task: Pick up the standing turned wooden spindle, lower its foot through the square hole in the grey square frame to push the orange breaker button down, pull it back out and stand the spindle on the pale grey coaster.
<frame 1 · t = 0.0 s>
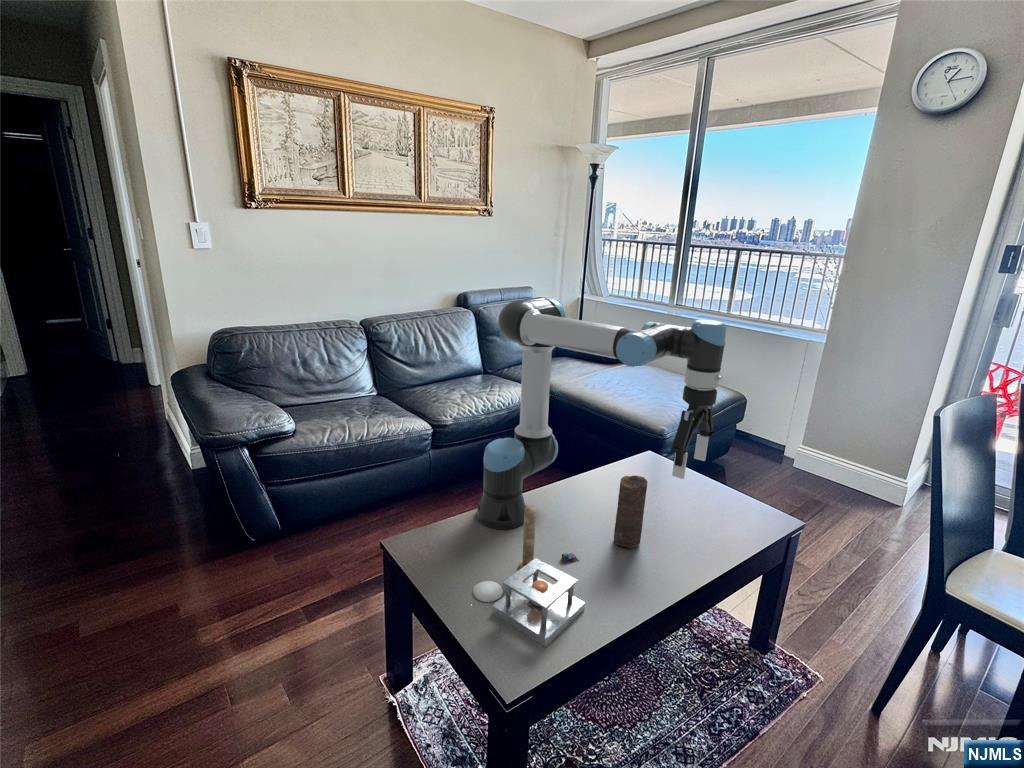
hand: (689, 467, 129), 28 cm above the table, fingers open, 13 cm apart
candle: (626, 544, 146), on the table
grey square frame: (538, 611, 119), on the table
puzzle cube: (568, 561, 138), on the table
breaker button: (539, 592, 117), point 5 cm above the table, slide at 0.0 cm
coaster: (488, 592, 124), on the table
turned wooden spindle: (527, 566, 134), on the table
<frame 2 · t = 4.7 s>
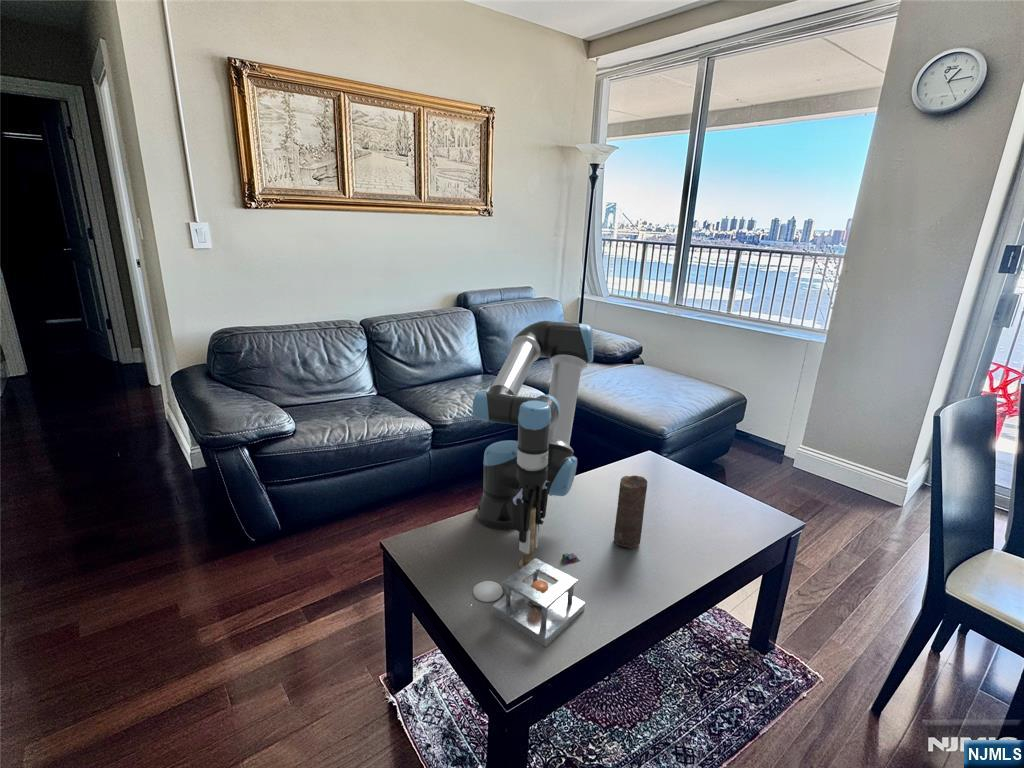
hand: (528, 548, 133), 6 cm above the table, fingers closed on turned wooden spindle, 3 cm apart
turned wooden spindle: (527, 566, 134), on the table, touching gripper
everything else where it was.
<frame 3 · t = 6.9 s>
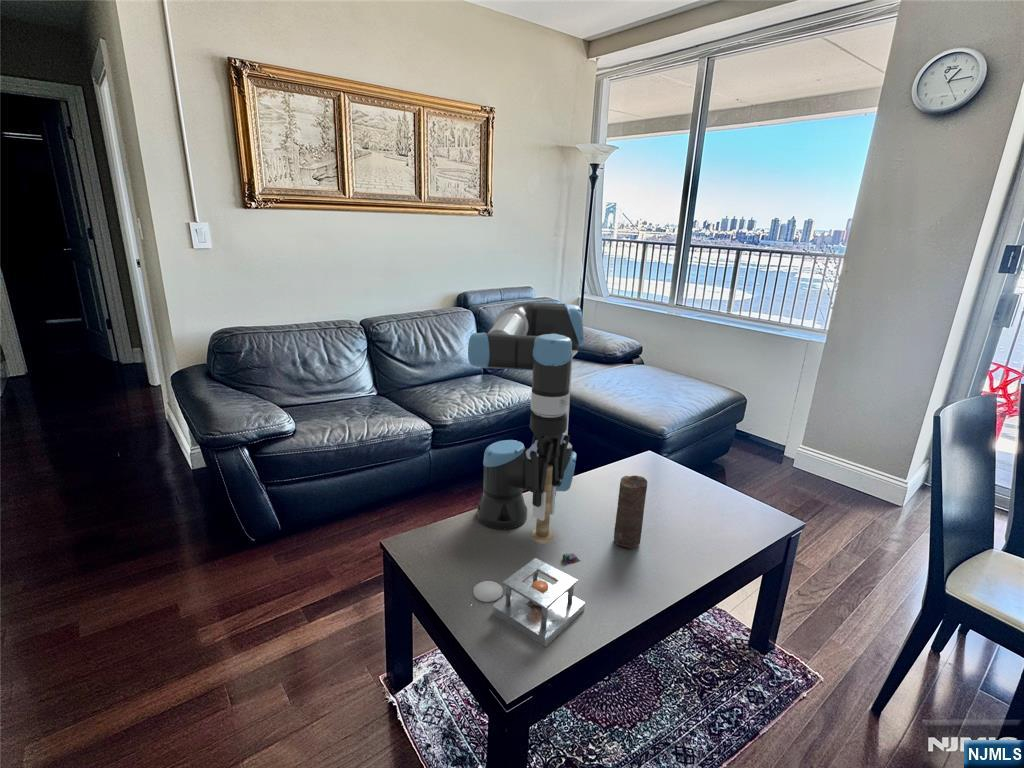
hand: (543, 514, 112), 25 cm above the table, fingers closed on turned wooden spindle, 3 cm apart
turned wooden spindle: (542, 537, 113), point 19 cm above the table, touching gripper
everything else where it was.
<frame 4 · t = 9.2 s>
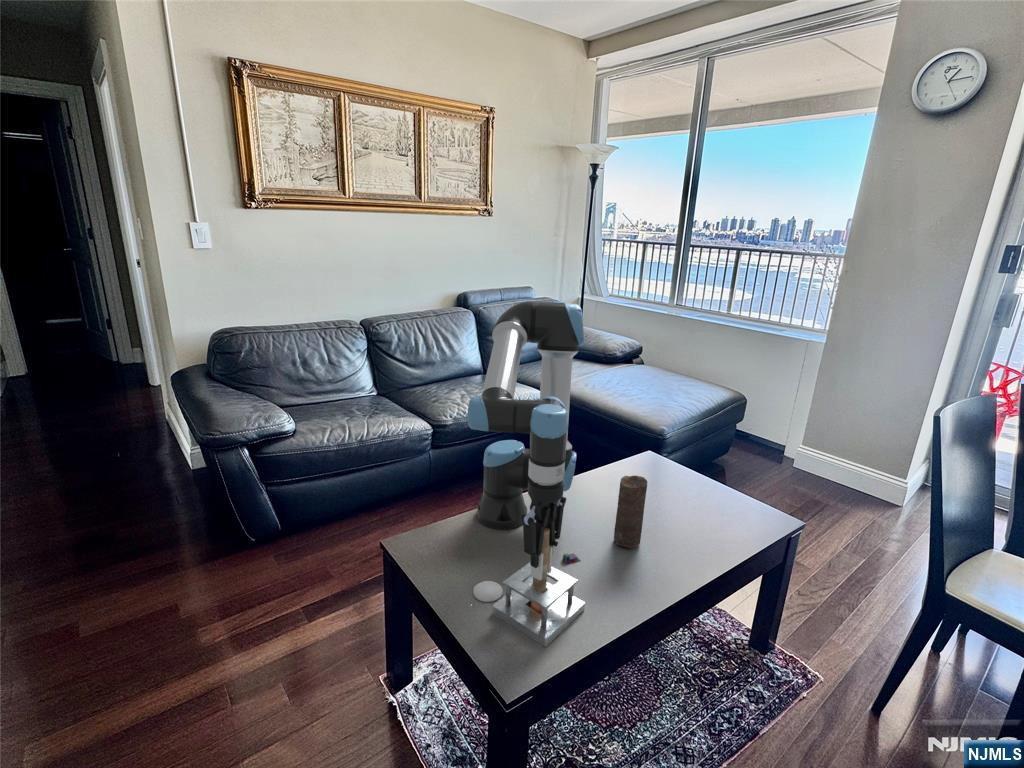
hand: (540, 573, 116), 10 cm above the table, fingers closed on turned wooden spindle, 3 cm apart
breaker button: (539, 602, 118), point 2 cm above the table, slide at 2.6 cm, touching turned wooden spindle
turned wooden spindle: (539, 595, 117), point 4 cm above the table, touching breaker button, gripper
everything else where it was.
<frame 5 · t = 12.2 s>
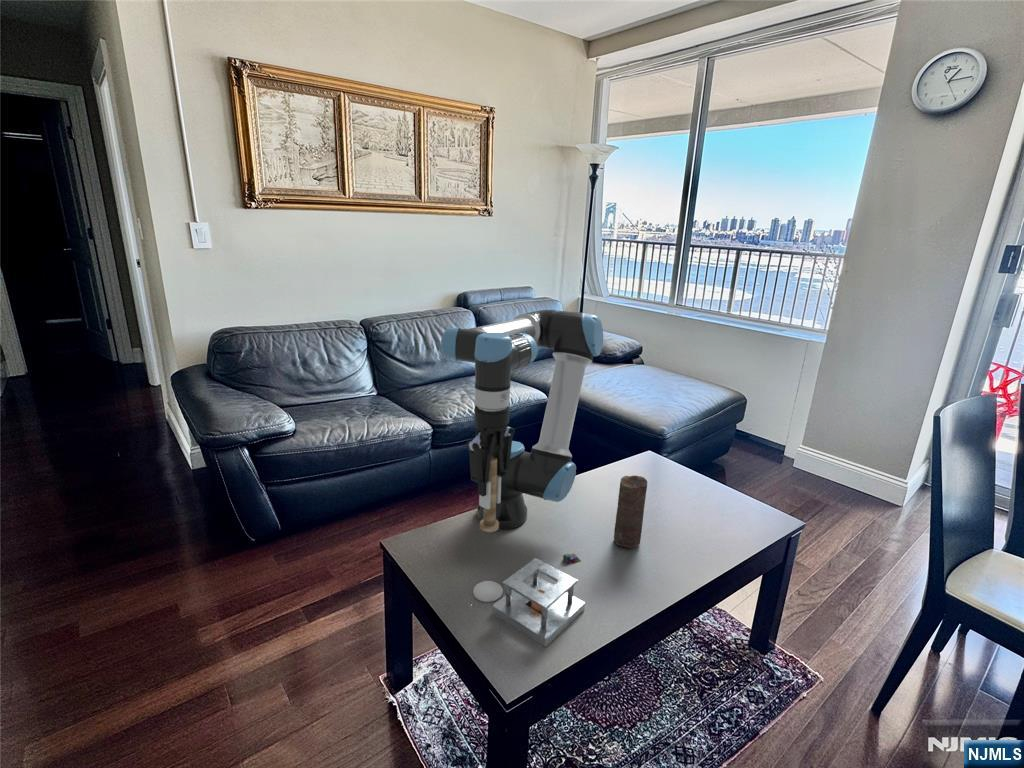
hand: (489, 503, 117), 24 cm above the table, fingers closed on turned wooden spindle, 3 cm apart
breaker button: (539, 602, 118), point 2 cm above the table, slide at 2.6 cm
turned wooden spindle: (489, 526, 119), point 18 cm above the table, touching gripper
everything else where it was.
when the fingers open (7 cm above the table, at t = 14.8 s): turned wooden spindle stays where it is, resting on coaster.
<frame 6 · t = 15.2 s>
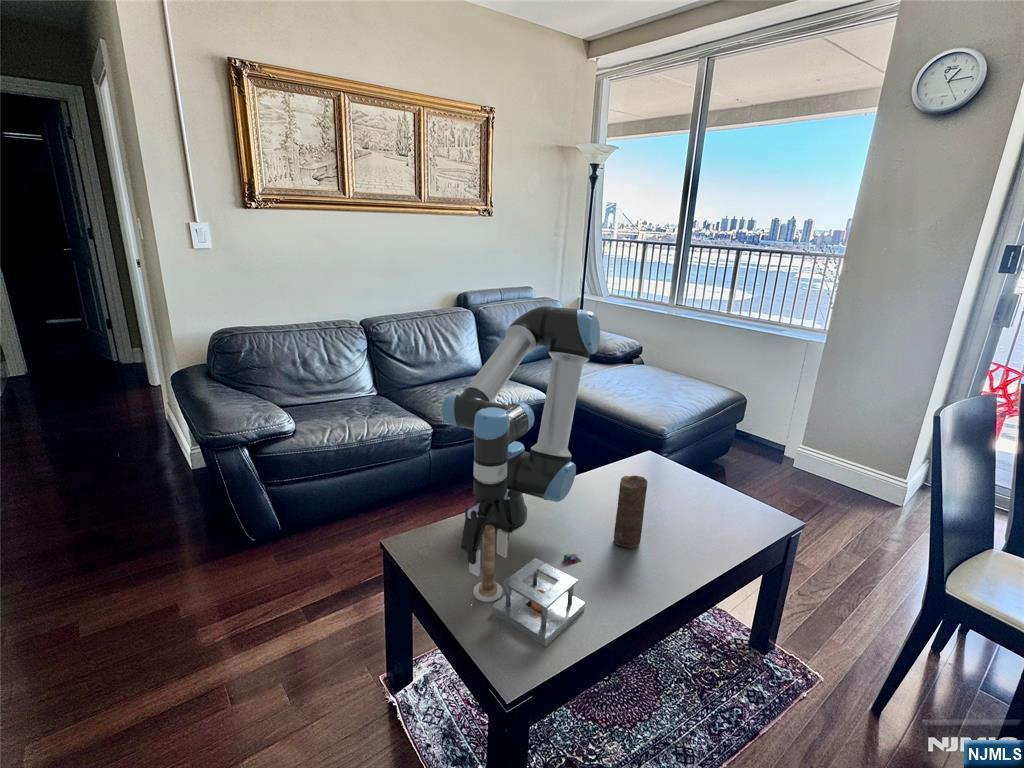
hand: (488, 563, 122), 8 cm above the table, fingers open, 9 cm apart
turned wooden spindle: (487, 590, 124), resting on coaster
everything else where it was.
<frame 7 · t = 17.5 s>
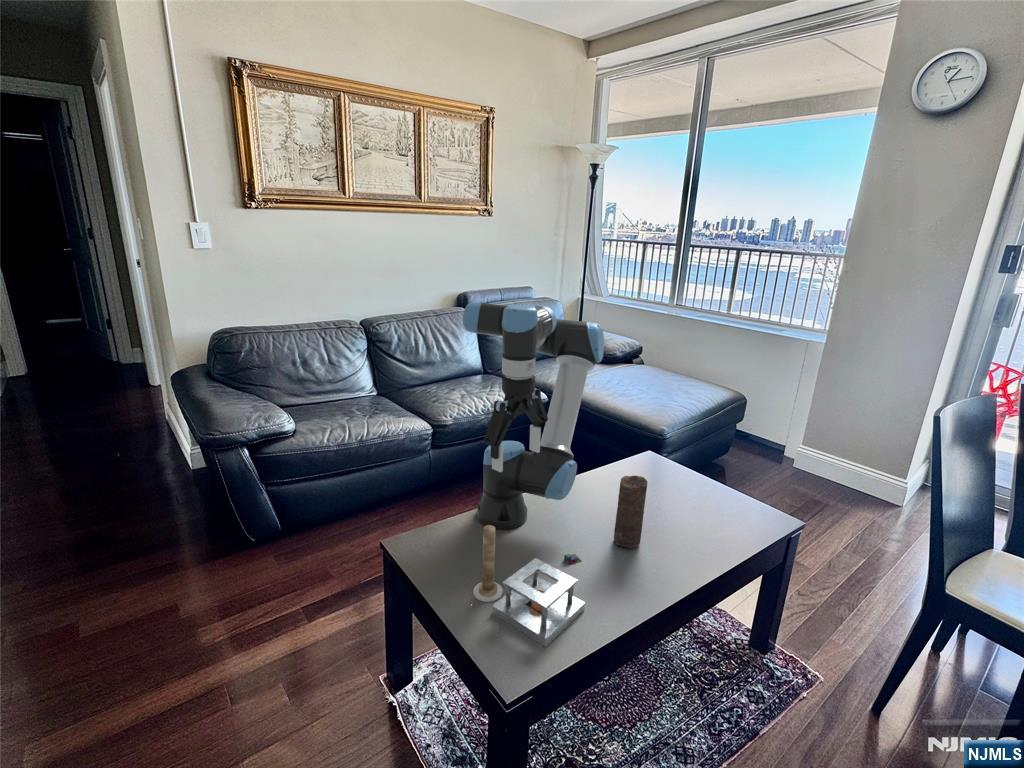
hand: (516, 460, 124), 31 cm above the table, fingers open, 13 cm apart
nothing on the table moved.
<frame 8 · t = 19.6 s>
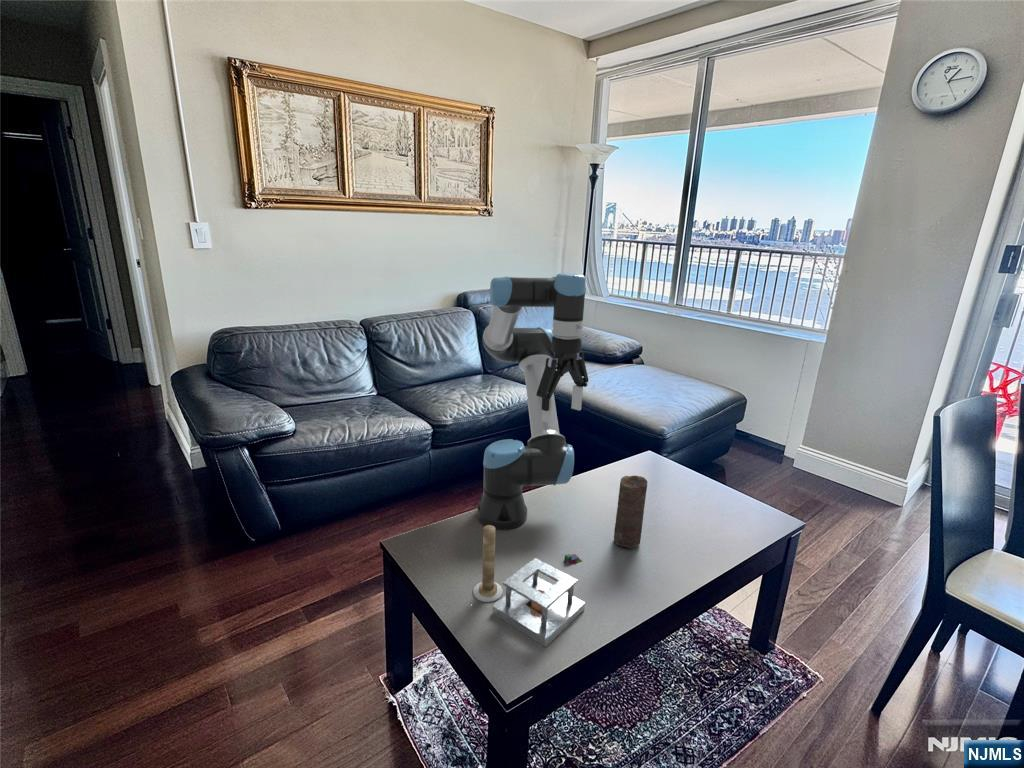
hand: (561, 415, 137), 37 cm above the table, fingers open, 13 cm apart
nothing on the table moved.
at the end: breaker button slide at 2.6 cm; turned wooden spindle 0.0 cm from the coaster (horizontally); turned wooden spindle tilted 0° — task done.
